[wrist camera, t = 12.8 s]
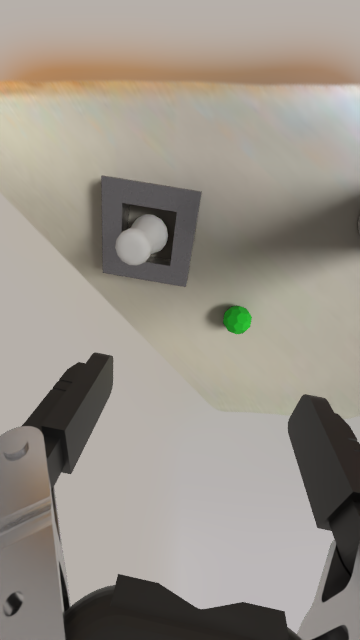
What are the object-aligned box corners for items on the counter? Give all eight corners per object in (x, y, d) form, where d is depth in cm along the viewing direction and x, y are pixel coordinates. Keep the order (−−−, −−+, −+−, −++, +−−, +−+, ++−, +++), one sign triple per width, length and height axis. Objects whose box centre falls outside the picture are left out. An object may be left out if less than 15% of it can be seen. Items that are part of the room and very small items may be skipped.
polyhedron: (247, 299, 44) (251, 311, 39) (251, 322, 46) (255, 336, 42) (219, 304, 45) (221, 316, 40) (224, 327, 47) (226, 340, 43)
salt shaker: (128, 227, 40) (96, 242, 28) (154, 204, 38) (132, 211, 26) (150, 256, 42) (129, 282, 30) (176, 237, 40) (165, 256, 28)
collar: (201, 191, 36) (201, 191, 33) (187, 279, 43) (185, 286, 40) (110, 176, 36) (101, 175, 33) (110, 266, 43) (102, 272, 40)
